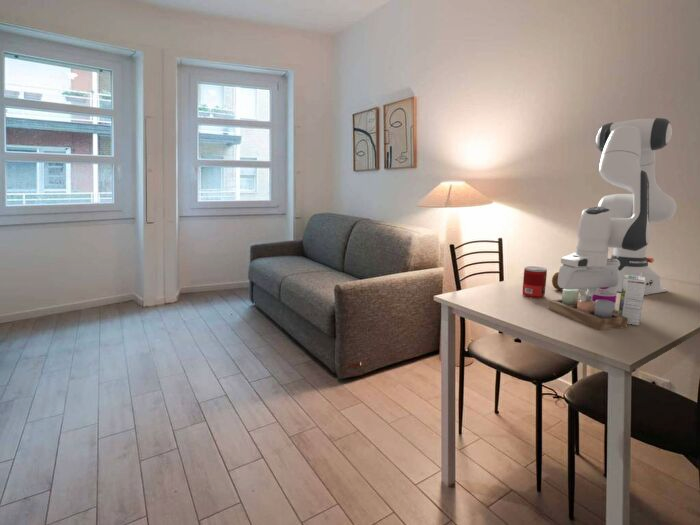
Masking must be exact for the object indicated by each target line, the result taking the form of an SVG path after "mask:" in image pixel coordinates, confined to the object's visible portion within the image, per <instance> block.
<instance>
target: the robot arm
mask: <svg viewBox="0 0 700 525" xmlns="http://www.w3.org/2000/svg"><path fill="white" fill-rule="evenodd" d="M672 135H673V128H672V124H671V121H670V120H668V118H662V117H657V118H637V119H635V118H634V119H632V120H624V121H617V122H609V123H605V124H603V125H602V126H601V127H600V128H599V129H598V131H597V134H596V138H595V143H596V147H597V149H598V150H599V151H600V152H602V153H601V157H600V160H599V161H600V162H599V166H598V171H599V175H600V177H601V178H602V179H603V180H604V181H605V182H607V183H608V184H610V185H612V186H614V187H617V188H618V187H619V188H621V189H624V190H626V191H628V192H630V193H614V194H609V195H604V196H603V197H602V198H601V199H600V200H599V201H598V204H597V206H592V207H588V208H585V209H583V210H582V212H581V215H580V219H579V222H578V228H577V229H578V230H577V240H578V242H577V245H576V246H575V251H574V252H572V253H570V254H568V255H565V256H562V257H561V258H560V264H562V265H561V266H560V268H559V271H558V272H559V274H558V286H559V287H560V288H563V289H566V290H569V289H575V290H578V291H579V295H580V299H581V301H583V302H586V301H592V297H593V295H594V294H595V292H596V291H597V288H602V287H616V286H617V284H618V287H617V292H618V293H621V291H622V286H623V280H624V276H625V275H633V276H640V277H645V278H646V283H645V290H644V296H647V295H653V294H659V293H665V292H667V290H668V289H667V288H665V287H663V286H660V285H661V278H660V276H659V274H658V273H656V271H655V270H653V269H652V268H650V266H649V263H651V264H652V263H654V261H655V259H654V257H649V256H648V257H647V256H646V255H647V248H648V245H649V242H650V240H651V235H652V233H651V232H652V230H651V226H650V223H651V224H652V223H662V222H668V221H669V220H671V219H672V218H674V215H675V214H676V212H677V203H676V201H675V199H674V198H673V197H672V196H671V195H669V194H667V193H666V192H664V191H663V190H662V189H661V187H660V186H659V185H658V183H657V180H656V151H657V150H661V149H663V148H664V147H665V148H666V146H667V145H669V142H670V140H671V138H672ZM609 248H611V249H612V248H613V251H612V254H611V257H608V256H609ZM618 270H619V271H618ZM587 291H588V292H587Z"/></svg>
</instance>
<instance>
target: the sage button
mask: <svg viewBox="0 0 700 525" xmlns="http://www.w3.org/2000/svg"><path fill="white" fill-rule="evenodd" d="M579 295H580V293H579V291H578V289H569V290H566V289H563V290H562V294H561V299H562V303H563V304H566V305H568V306H569V305H577V303H578V299H579Z"/></svg>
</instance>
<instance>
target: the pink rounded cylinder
mask: <svg viewBox="0 0 700 525" xmlns="http://www.w3.org/2000/svg"><path fill="white" fill-rule="evenodd" d="M594 305H595V302H594V301H586V302H583V301H581V298H578V303H577V309H579V310H581V311H584V312H588V311H594Z"/></svg>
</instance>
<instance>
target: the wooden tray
mask: <svg viewBox="0 0 700 525" xmlns="http://www.w3.org/2000/svg"><path fill="white" fill-rule="evenodd" d="M547 308H548V309H549V310H551V311H553V312H555V313H558V314H560V315H562V316H565V317H567V318H570V319H572V320H575V321H577V322H578V323H582V324H584V325H586V324H587V325H586V326H588V325H589V326H588V327H590V328H593V329H595V328H596V329H595V330H598V331H599V330H602V329H603V330H611V328H614V329H622V328H621V327H625V328H627V327H628V324H627V320H628V318H627V317H624V316H621V315H618V313H615V312H613V314H612V318H605V319H602V318H600V317H597V316H594V311H588V312H584V311H581V310H579V309H577V305H569V306H568V305H566V304H563V303H562V298H561V299H559V298H558V299H548V305H547ZM594 309H595V306H594ZM603 330H602V331H603Z"/></svg>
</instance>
